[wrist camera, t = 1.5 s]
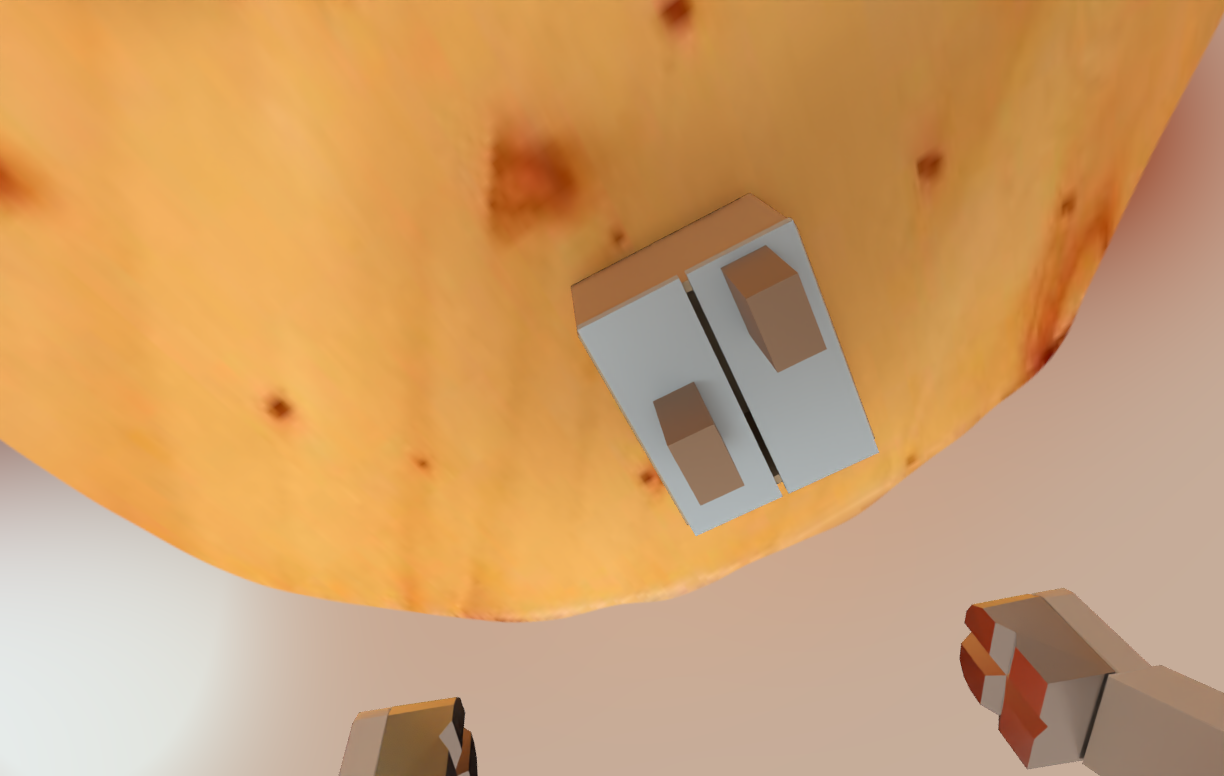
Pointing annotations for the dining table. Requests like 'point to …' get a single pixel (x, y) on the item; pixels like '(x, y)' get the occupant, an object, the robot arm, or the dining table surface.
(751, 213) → the open cardboard box
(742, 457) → the lid
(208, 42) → the dining table surface
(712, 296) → the lid
